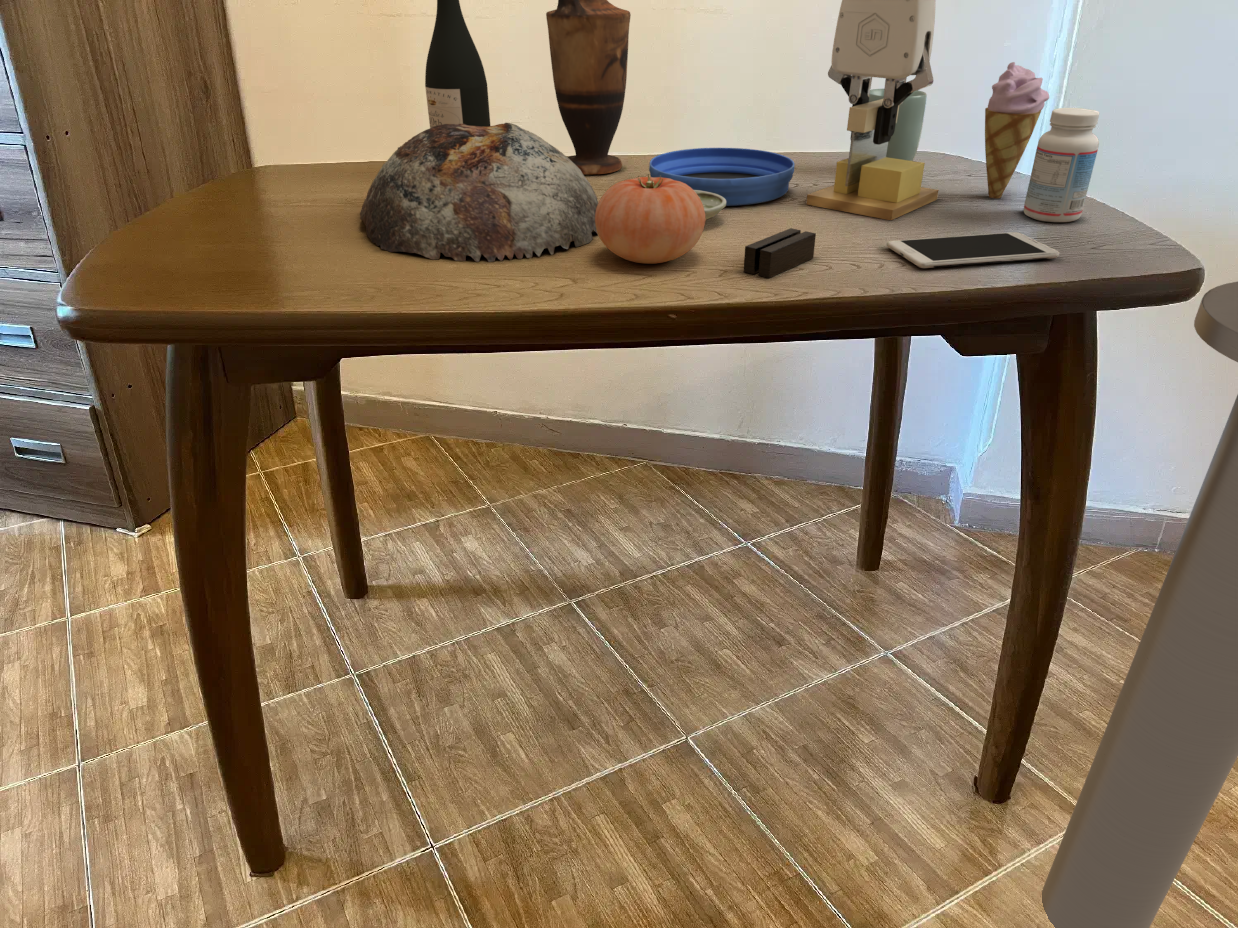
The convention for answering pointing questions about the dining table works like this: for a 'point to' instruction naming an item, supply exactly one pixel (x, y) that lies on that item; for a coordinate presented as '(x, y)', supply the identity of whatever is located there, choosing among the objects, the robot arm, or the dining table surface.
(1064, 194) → the pill bottle
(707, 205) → the saucer
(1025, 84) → the ice cream cone
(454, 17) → the wine bottle
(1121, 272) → the dining table surface
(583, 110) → the vase
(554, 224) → the bread
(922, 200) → the board
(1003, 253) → the smartphone
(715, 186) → the bowl
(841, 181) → the butter slice
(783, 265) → the knife holder
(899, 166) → the butter block
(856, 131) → the knife
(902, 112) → the cup
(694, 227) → the tomato
